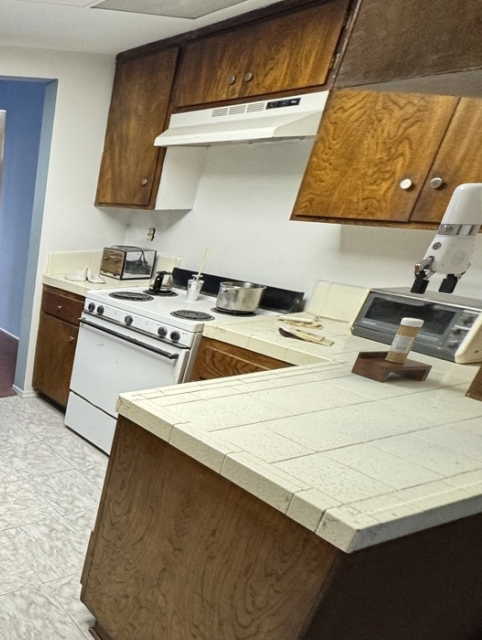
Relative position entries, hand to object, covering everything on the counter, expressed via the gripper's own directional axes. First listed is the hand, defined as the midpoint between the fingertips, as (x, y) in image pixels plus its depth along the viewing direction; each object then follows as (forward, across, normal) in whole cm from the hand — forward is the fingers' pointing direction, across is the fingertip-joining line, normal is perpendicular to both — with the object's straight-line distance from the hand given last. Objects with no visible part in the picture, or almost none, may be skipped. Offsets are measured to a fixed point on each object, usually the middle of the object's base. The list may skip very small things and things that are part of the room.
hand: (430, 293), depth 137 cm
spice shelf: (+26, -2, +1) cm, 26 cm away
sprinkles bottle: (+22, -1, +1) cm, 22 cm away
